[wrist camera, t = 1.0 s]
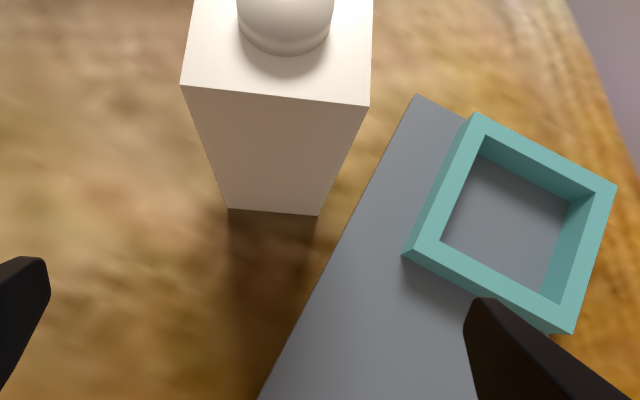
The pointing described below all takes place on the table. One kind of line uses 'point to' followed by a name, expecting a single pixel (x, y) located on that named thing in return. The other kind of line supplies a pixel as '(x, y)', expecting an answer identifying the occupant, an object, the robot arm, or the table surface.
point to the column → (278, 95)
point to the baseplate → (443, 260)
